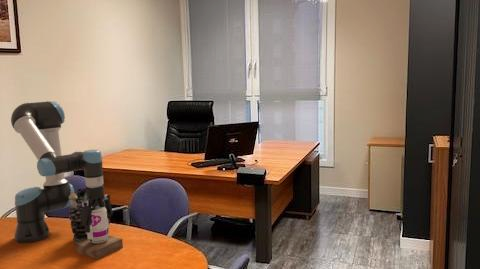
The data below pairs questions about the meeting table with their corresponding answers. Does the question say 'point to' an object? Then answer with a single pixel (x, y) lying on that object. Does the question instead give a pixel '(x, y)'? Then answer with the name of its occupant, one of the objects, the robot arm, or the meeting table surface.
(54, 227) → the meeting table surface
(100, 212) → the supplement can
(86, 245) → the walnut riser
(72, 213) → the decorative house
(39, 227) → the robot arm
